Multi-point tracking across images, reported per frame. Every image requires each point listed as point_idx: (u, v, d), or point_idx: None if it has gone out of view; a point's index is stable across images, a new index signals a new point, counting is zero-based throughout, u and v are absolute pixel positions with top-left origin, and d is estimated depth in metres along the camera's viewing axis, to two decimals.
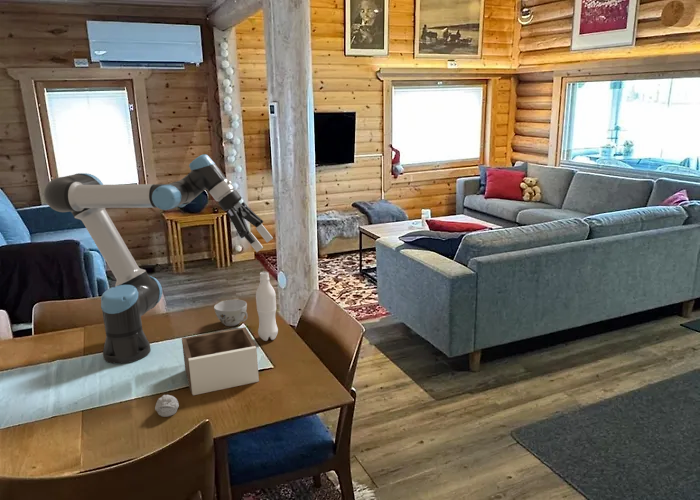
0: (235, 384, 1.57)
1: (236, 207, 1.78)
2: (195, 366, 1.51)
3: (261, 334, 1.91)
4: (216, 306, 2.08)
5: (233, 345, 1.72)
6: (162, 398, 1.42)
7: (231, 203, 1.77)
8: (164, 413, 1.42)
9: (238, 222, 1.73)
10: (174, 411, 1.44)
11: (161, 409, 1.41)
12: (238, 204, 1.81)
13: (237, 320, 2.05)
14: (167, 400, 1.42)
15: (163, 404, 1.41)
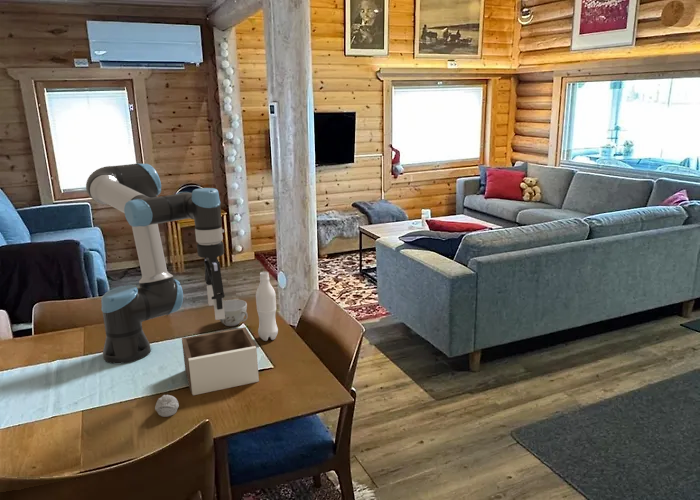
0: (235, 384, 1.57)
1: None
2: (195, 366, 1.51)
3: (261, 334, 1.91)
4: None
5: (233, 345, 1.72)
6: (162, 398, 1.42)
7: (216, 255, 1.52)
8: (164, 413, 1.42)
9: (220, 282, 1.49)
10: (174, 411, 1.44)
11: (161, 409, 1.41)
12: None
13: (237, 320, 2.05)
14: (167, 400, 1.42)
15: (163, 404, 1.41)
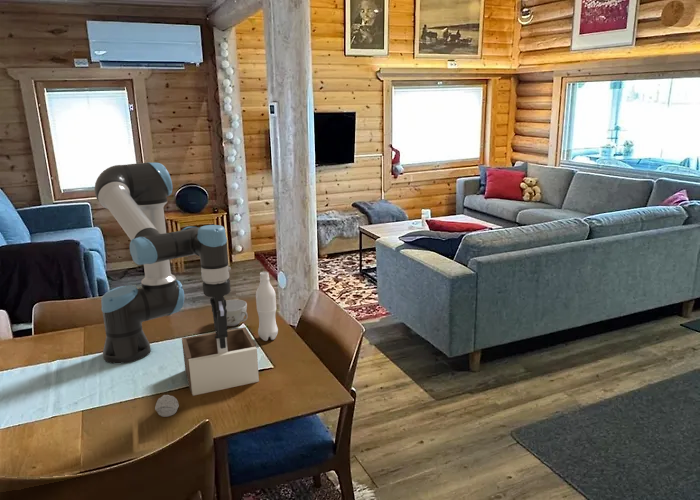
0: (235, 384, 1.57)
1: None
2: (195, 367, 1.51)
3: (261, 334, 1.91)
4: None
5: (233, 345, 1.72)
6: (162, 398, 1.42)
7: (223, 294, 1.48)
8: (164, 413, 1.42)
9: (225, 325, 1.49)
10: (174, 411, 1.44)
11: (161, 409, 1.41)
12: None
13: (237, 320, 2.05)
14: (167, 400, 1.42)
15: (163, 404, 1.41)
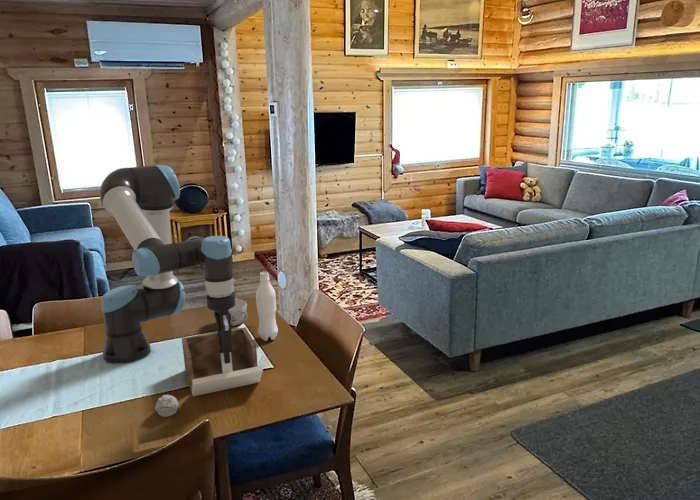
0: None
1: (227, 313, 1.44)
2: (198, 386, 1.47)
3: (261, 334, 1.91)
4: None
5: (233, 345, 1.72)
6: (162, 398, 1.42)
7: (227, 308, 1.42)
8: (164, 413, 1.42)
9: (229, 340, 1.44)
10: (174, 411, 1.44)
11: (161, 409, 1.41)
12: None
13: (237, 320, 2.05)
14: (167, 400, 1.42)
15: (163, 404, 1.41)
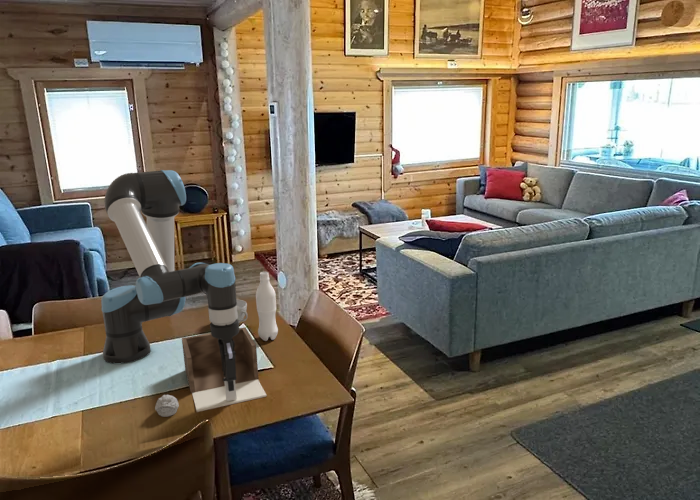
0: None
1: None
2: None
3: (261, 334, 1.91)
4: None
5: None
6: (162, 398, 1.42)
7: (231, 336, 1.42)
8: (164, 413, 1.42)
9: (233, 368, 1.43)
10: (174, 411, 1.44)
11: (161, 409, 1.41)
12: None
13: None
14: (167, 400, 1.42)
15: (163, 404, 1.41)
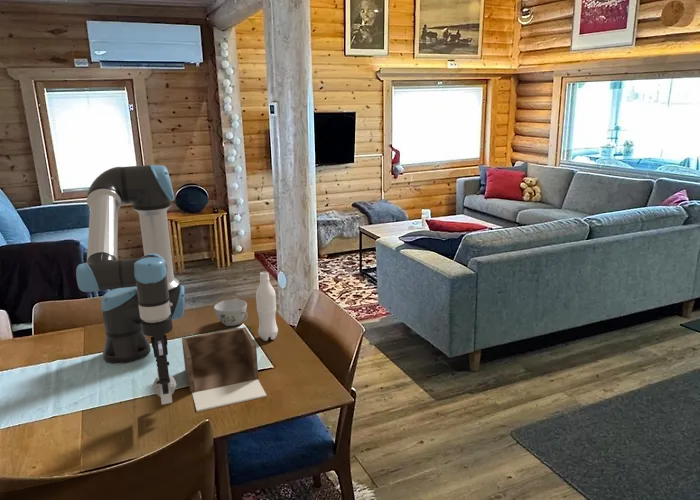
0: None
1: (163, 338, 1.37)
2: None
3: (261, 334, 1.91)
4: (216, 306, 2.08)
5: (233, 345, 1.72)
6: None
7: (162, 333, 1.36)
8: None
9: (165, 367, 1.35)
10: (172, 390, 1.42)
11: (158, 388, 1.40)
12: None
13: (237, 320, 2.05)
14: None
15: None
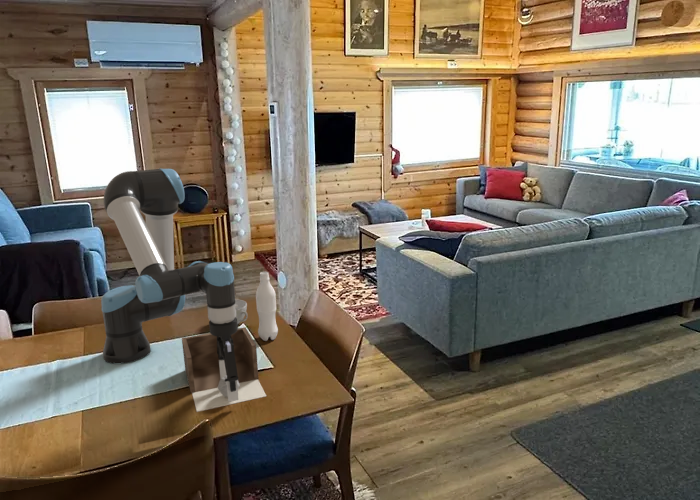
0: None
1: None
2: None
3: (261, 334, 1.91)
4: None
5: None
6: (225, 378, 1.49)
7: (230, 334, 1.44)
8: (227, 392, 1.49)
9: (234, 364, 1.41)
10: None
11: (224, 388, 1.48)
12: None
13: (237, 320, 2.05)
14: None
15: (226, 383, 1.47)
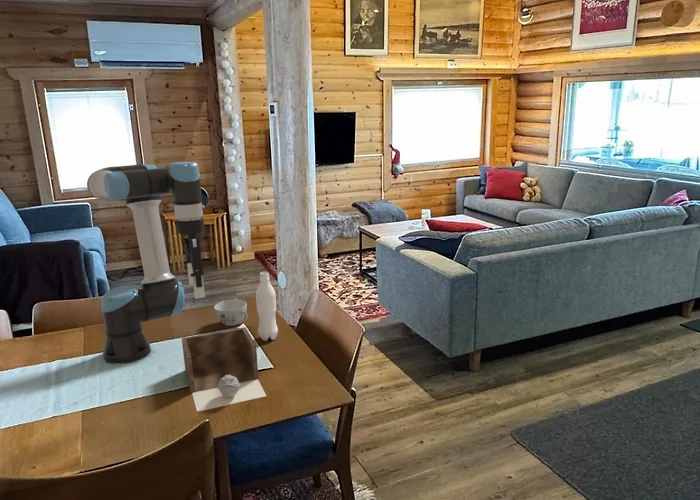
0: None
1: None
2: None
3: (261, 334, 1.91)
4: (216, 306, 2.08)
5: (233, 345, 1.72)
6: (225, 378, 1.49)
7: (196, 232, 1.46)
8: (227, 392, 1.49)
9: (199, 259, 1.43)
10: (236, 390, 1.50)
11: (224, 388, 1.48)
12: None
13: (237, 320, 2.05)
14: (230, 379, 1.48)
15: (226, 383, 1.47)
